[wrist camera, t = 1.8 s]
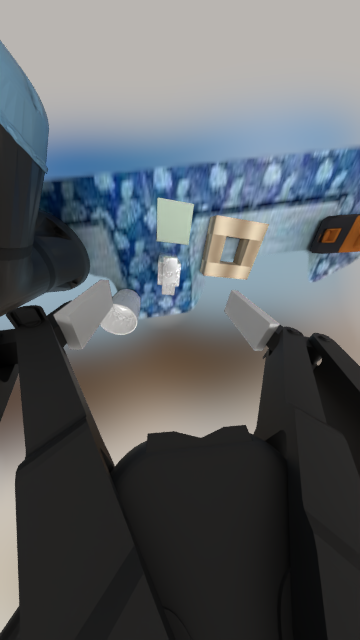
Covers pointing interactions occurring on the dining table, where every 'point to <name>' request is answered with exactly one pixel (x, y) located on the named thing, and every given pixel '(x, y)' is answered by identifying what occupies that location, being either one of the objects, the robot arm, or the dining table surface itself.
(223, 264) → the socket block
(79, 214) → the dining table surface
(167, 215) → the mat
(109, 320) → the white cup
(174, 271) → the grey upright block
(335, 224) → the power drill
